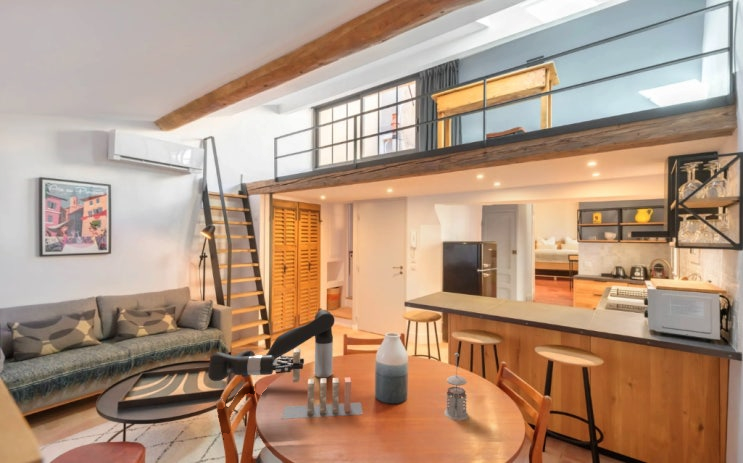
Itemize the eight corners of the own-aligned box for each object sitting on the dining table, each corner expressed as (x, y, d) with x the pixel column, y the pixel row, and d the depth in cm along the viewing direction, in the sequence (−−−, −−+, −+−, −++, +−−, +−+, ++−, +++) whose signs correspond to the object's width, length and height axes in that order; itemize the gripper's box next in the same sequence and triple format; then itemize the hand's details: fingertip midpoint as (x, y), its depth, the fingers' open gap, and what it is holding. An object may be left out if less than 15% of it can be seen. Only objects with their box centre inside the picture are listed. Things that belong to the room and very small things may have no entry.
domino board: (284, 408, 144) (284, 406, 144) (360, 404, 148) (360, 402, 148) (281, 421, 134) (281, 418, 134) (363, 416, 138) (363, 414, 138)
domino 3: (319, 413, 138) (320, 383, 139) (320, 407, 143) (320, 378, 143) (325, 413, 139) (326, 383, 139) (325, 407, 143) (326, 378, 144)
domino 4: (332, 412, 139) (332, 382, 139) (332, 406, 144) (332, 378, 144) (338, 412, 139) (338, 382, 140) (337, 406, 144) (338, 377, 144)
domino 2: (307, 414, 138) (307, 383, 138) (307, 408, 142) (308, 379, 143) (313, 413, 138) (313, 383, 138) (313, 407, 143) (314, 378, 143)
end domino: (344, 411, 140) (345, 382, 140) (344, 406, 144) (344, 377, 145) (350, 411, 140) (351, 381, 140) (349, 405, 145) (350, 377, 145)
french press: (468, 410, 144) (469, 350, 145) (468, 424, 133) (469, 359, 134) (444, 406, 147) (445, 348, 148) (443, 420, 136) (443, 357, 136)
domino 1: (292, 382, 138) (293, 352, 139) (294, 377, 143) (294, 348, 143) (298, 382, 139) (299, 352, 139) (300, 377, 144) (300, 348, 144)
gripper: (264, 367, 146) (304, 366, 148) (256, 381, 132) (301, 379, 134) (264, 350, 147) (304, 348, 149) (257, 362, 132) (302, 360, 134)
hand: (303, 363), depth 141 cm, fingers closed on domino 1, 4 cm apart
